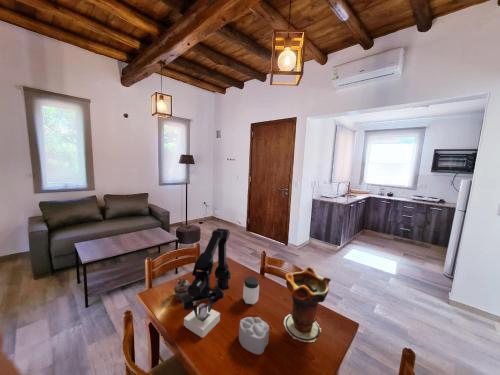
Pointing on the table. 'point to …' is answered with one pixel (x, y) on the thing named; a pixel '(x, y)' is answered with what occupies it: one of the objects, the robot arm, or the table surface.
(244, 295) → the jar
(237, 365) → the table surface
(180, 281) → the cupcake
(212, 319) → the socket block
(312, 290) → the decorative vase
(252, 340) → the lumpy-topped squat cylinder
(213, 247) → the robot arm
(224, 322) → the table surface
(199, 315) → the peg
